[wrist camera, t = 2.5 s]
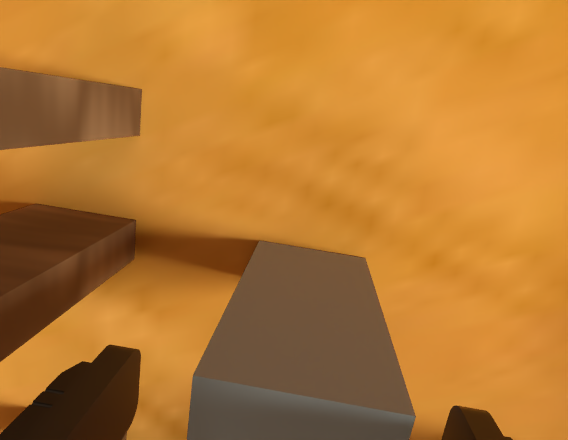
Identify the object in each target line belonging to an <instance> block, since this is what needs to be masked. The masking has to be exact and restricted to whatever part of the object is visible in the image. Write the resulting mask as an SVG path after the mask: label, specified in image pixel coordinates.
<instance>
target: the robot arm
mask: <svg viewBox="0 0 568 440" xmlns="http://www.w3.org/2000/svg"><path fill="white" fill-rule="evenodd" d="M140 361H141V354H140V351H139V350H138V349H133V348H127V347H121V346H115V345H108V346H107V347H106V348H105V349H104V350H103V351H102V352H101V353H100V354H99V355H98V356H97V358H96V359H95V360H94V361H93V362H92V363H89V362H83V361H82V362H80V363H79V364H77V365H75V366H73V367H71V368H69V369H68V370H66V371H64V372H62V373H61V374H60V375H59V376H58V377H57V378H56V379H55V380H54V381H53V382H52V383H51V384H50V385H49V386H48V387H47V388H46V390H45V392H44V391H43V392H42V393H41V394H40V395H39V396H38V397H37V398H36V399H35V400H34V401H33V403H32V405H29V406H28V407H27V408H26V409H25V410H24V411H23V412H22V413H21V414H20V415H19V416H18V417H17V418H16V419H15V420H14V421H13V422H12V423H11V424H10V425H9V426H8V427H7V428H6V429H5V430H4V431H3V432H2V433H1V434H0V440H122V439H123V437H124V435H125V434H126V432H127V431H128V429H129V427H130V425H131V423H132V421H133V418H134V416H135V412H136V409H137V404H138V395H139V378H140ZM442 440H512V439H511V438H510V437H505V436H503V434H502V433H501V431H500V429H499V428H498V426H497V424H496V423H495V421H494V419H493V418H492V416H491V415H490V413H489V412H487V411H484V410H479V409H473V408H467V407H461V406H453V407H452V409H451V410H450V413H449V416H448V420H447V423H446V426H445V430H444V433H443V436H442Z"/></svg>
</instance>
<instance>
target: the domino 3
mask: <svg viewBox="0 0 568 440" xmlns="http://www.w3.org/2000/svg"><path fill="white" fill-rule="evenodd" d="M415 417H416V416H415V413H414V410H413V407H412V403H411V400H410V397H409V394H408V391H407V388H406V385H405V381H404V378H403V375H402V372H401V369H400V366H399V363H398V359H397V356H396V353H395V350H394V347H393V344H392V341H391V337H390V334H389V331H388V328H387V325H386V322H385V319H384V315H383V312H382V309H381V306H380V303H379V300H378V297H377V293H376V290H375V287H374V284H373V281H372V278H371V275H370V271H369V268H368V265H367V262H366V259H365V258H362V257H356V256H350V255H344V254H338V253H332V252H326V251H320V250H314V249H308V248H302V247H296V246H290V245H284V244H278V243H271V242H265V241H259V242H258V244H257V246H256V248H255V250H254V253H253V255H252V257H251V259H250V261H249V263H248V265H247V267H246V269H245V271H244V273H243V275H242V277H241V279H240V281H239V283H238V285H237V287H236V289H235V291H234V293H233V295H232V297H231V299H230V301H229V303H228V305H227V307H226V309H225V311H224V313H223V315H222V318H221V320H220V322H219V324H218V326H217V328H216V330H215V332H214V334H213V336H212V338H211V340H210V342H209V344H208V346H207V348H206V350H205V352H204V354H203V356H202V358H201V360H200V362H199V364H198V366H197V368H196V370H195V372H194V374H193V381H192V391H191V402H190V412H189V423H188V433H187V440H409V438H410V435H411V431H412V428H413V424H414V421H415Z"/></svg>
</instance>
